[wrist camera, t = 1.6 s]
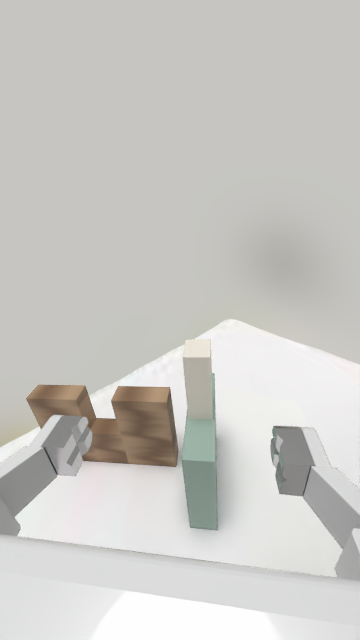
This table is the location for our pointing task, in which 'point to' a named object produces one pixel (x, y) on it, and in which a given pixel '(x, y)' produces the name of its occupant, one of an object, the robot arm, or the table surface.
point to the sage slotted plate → (200, 436)
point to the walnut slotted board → (117, 422)
